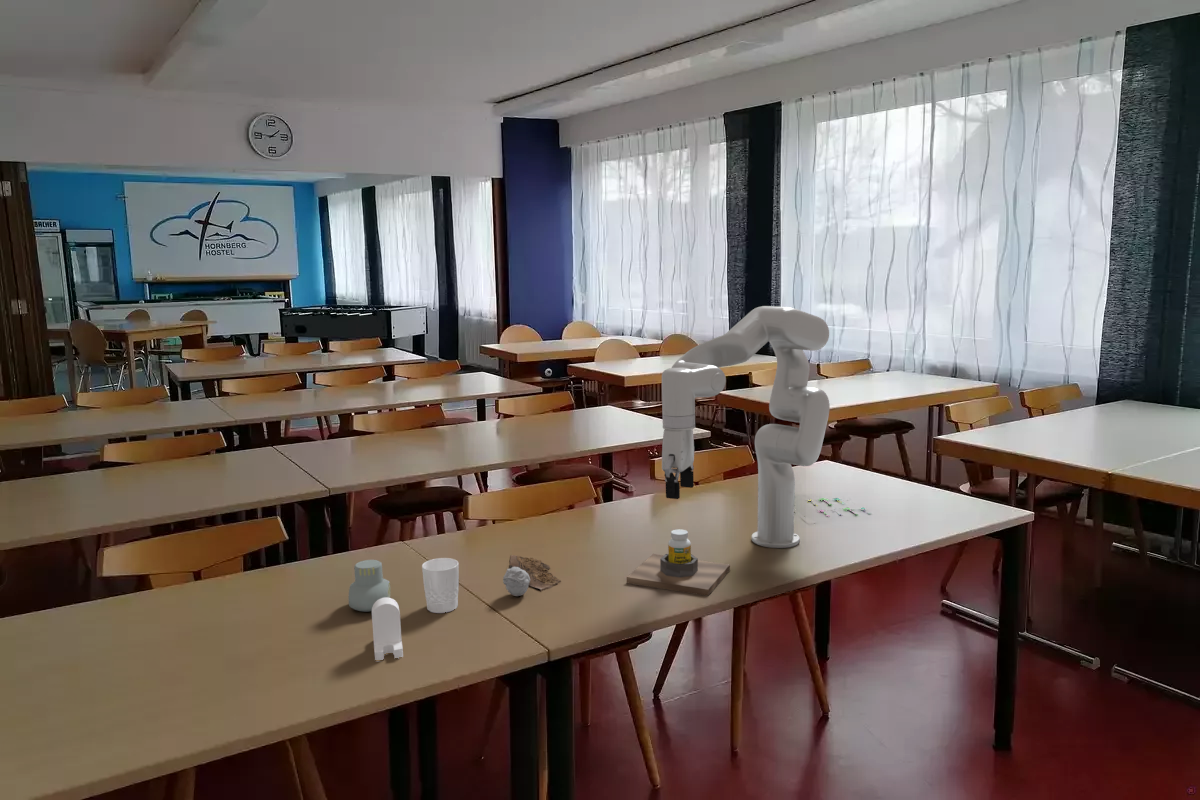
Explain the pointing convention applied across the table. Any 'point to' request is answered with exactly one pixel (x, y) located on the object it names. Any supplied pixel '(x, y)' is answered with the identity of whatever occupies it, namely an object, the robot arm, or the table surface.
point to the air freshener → (368, 585)
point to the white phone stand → (386, 628)
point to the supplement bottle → (679, 547)
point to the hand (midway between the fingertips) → (680, 492)
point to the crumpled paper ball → (516, 581)
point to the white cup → (441, 584)
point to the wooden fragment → (535, 572)
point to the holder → (679, 574)
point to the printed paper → (831, 504)
